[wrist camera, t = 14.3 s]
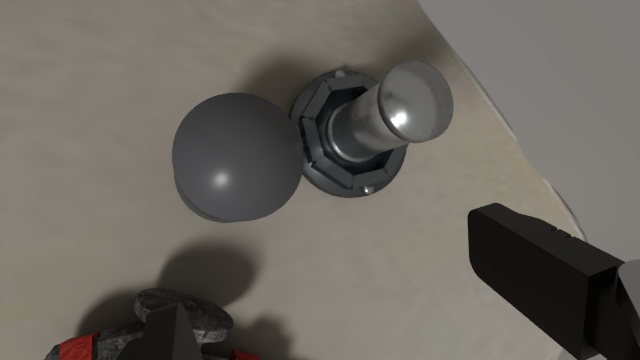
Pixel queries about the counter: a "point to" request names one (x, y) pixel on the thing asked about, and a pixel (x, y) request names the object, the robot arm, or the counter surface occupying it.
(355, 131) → the fitting
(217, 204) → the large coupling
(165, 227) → the counter surface
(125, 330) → the valve
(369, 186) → the flange
